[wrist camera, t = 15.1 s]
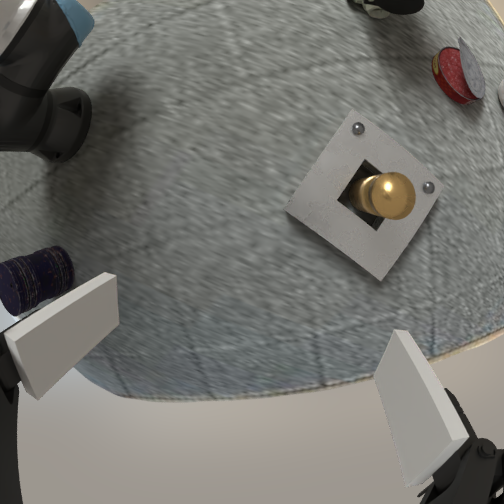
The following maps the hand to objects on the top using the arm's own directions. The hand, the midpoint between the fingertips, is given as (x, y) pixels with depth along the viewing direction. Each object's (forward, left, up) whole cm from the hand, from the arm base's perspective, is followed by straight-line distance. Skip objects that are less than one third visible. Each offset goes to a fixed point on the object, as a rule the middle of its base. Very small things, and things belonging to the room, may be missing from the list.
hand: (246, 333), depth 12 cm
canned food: (+9, +39, -28) cm, 49 cm away
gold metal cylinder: (+6, +11, -27) cm, 30 cm away
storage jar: (-33, -31, -27) cm, 53 cm away
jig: (+6, +11, -27) cm, 30 cm away
